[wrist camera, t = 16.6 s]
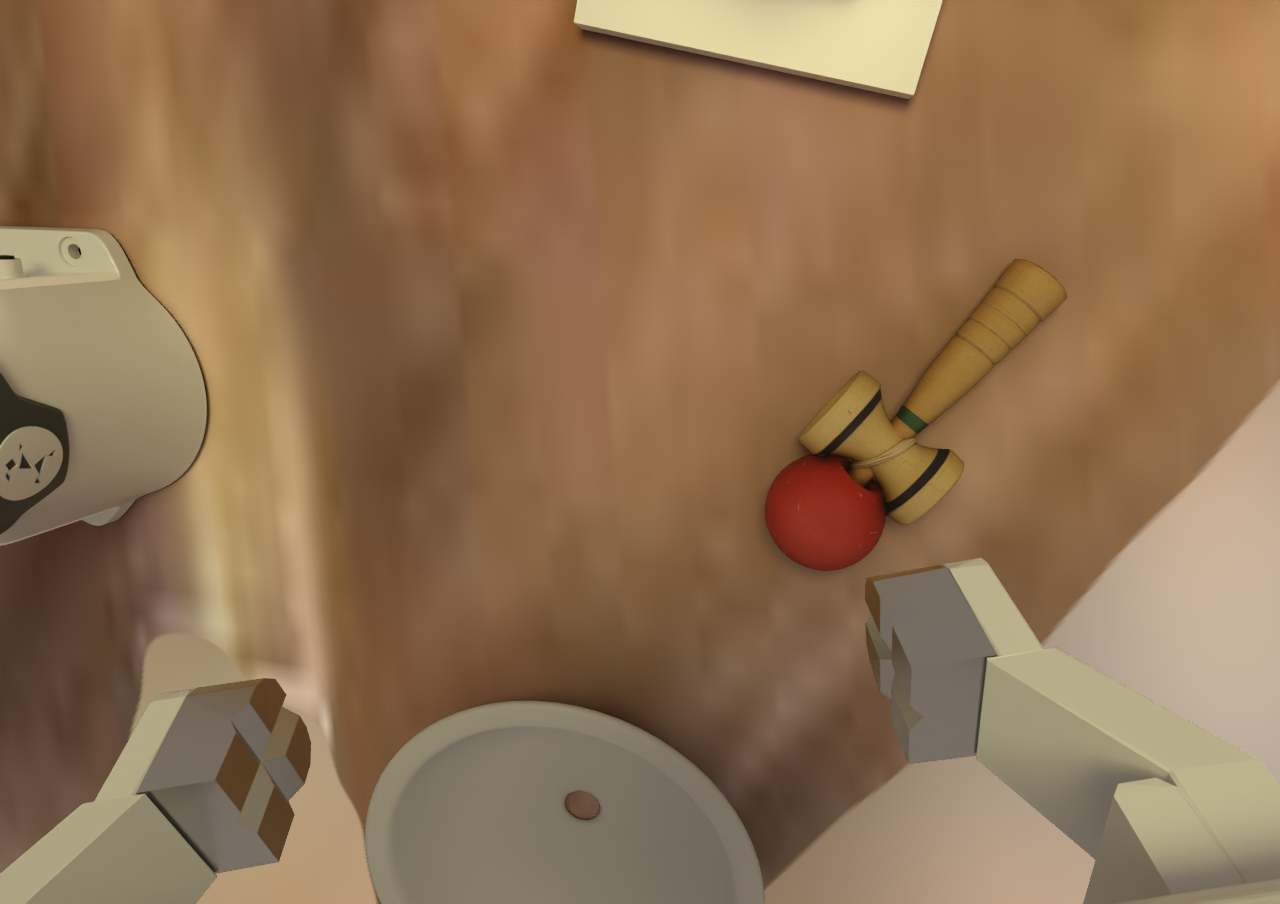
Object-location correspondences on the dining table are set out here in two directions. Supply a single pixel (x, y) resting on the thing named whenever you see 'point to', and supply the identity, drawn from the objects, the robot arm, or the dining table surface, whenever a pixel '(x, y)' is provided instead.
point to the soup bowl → (552, 816)
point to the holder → (785, 35)
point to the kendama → (895, 436)
